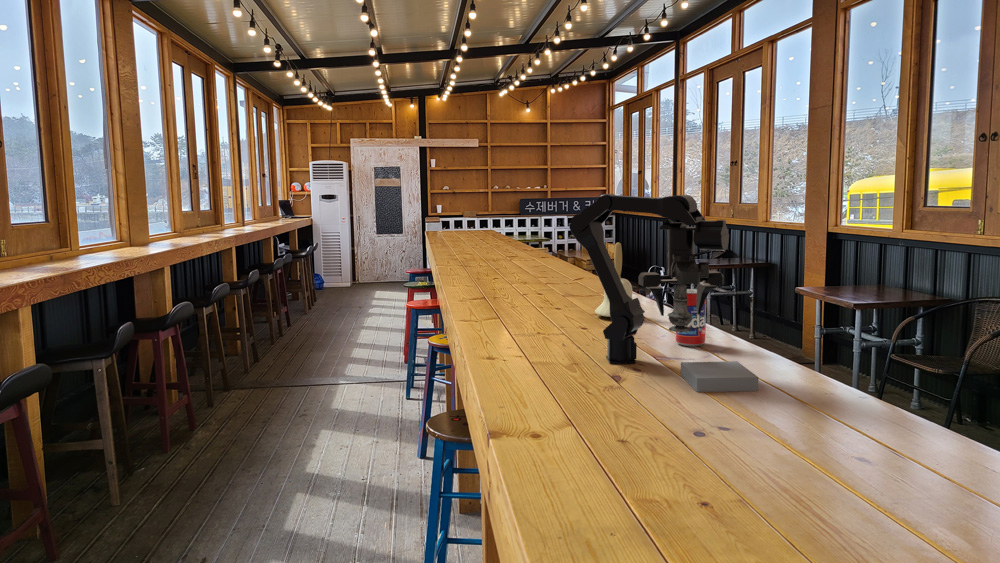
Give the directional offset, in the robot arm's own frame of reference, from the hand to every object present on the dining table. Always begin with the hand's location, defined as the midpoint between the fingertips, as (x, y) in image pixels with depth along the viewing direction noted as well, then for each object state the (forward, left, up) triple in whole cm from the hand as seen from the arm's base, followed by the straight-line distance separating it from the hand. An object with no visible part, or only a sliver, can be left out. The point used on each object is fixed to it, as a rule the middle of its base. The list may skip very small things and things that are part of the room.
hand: (680, 315), depth 158 cm
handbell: (-4, +65, -13) cm, 66 cm away
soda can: (+9, +25, -13) cm, 30 cm away
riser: (+5, -11, -13) cm, 18 cm away
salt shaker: (0, 0, -4) cm, 4 cm away
